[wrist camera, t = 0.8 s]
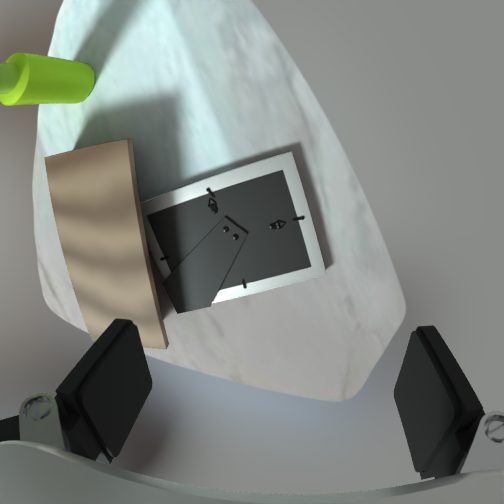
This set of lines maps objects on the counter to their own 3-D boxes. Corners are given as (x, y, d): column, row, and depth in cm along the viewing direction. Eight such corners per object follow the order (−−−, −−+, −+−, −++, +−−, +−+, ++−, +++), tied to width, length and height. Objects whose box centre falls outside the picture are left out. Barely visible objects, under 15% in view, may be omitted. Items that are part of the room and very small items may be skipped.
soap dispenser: (100, 99, 33) (-18, 101, 15) (61, 105, 34) (-51, 116, 16) (103, 58, 31) (-10, 36, 13) (64, 67, 32) (-46, 59, 13)
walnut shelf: (72, 151, 36) (44, 157, 31) (149, 135, 35) (127, 138, 29) (109, 318, 47) (92, 340, 41) (178, 323, 45) (166, 349, 40)
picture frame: (182, 303, 45) (324, 267, 40) (177, 313, 42) (327, 277, 38) (138, 202, 39) (291, 150, 35) (129, 208, 37) (292, 152, 32)
